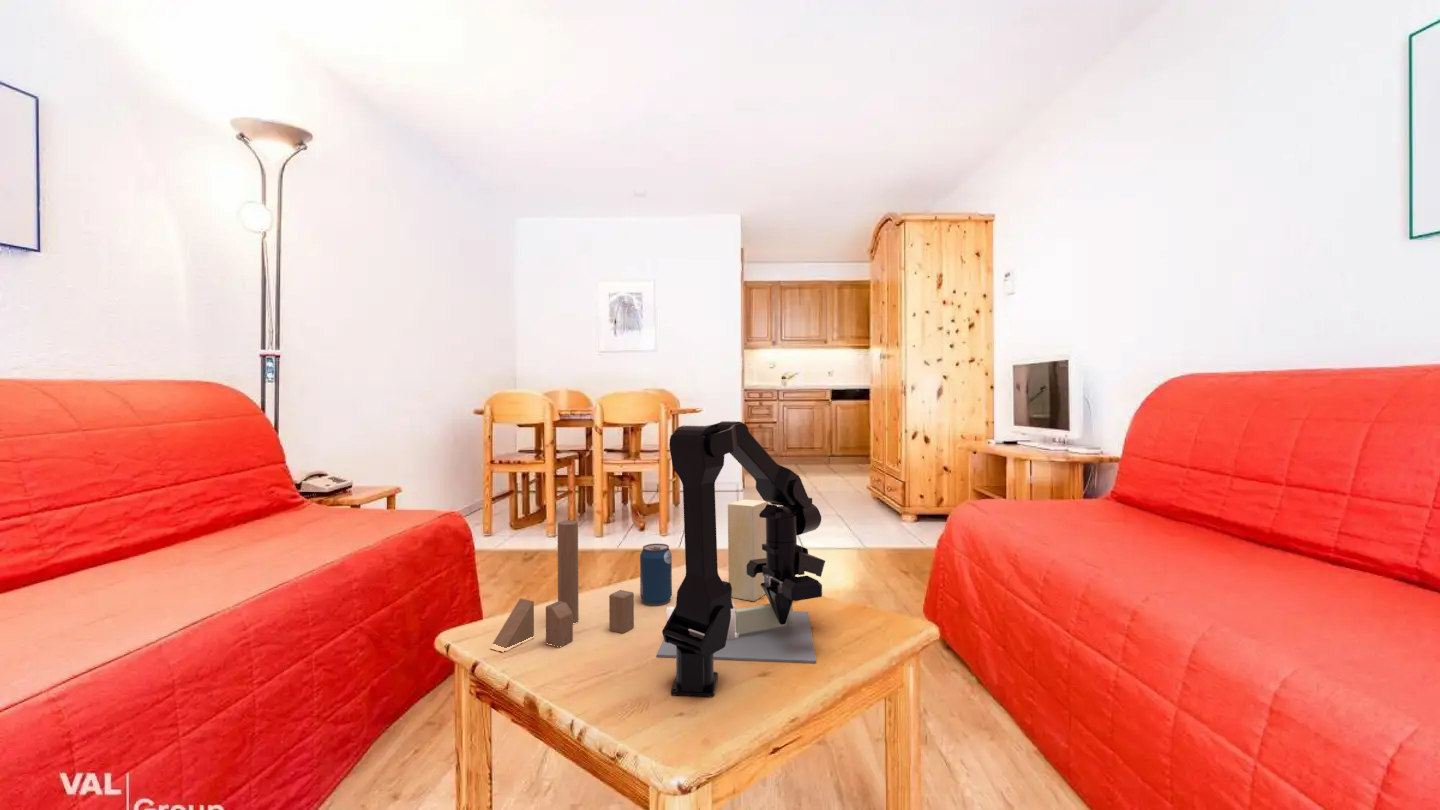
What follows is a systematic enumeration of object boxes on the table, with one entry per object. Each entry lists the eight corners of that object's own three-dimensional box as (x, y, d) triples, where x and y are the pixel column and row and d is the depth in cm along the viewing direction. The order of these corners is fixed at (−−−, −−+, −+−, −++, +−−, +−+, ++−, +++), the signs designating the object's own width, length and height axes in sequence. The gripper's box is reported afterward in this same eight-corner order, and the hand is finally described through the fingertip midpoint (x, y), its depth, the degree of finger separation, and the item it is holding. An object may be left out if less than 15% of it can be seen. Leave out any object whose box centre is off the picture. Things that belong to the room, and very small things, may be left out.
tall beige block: (742, 586, 130) (741, 498, 130) (769, 591, 126) (769, 500, 127) (725, 596, 123) (724, 503, 124) (754, 602, 120) (753, 506, 120)
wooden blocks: (489, 649, 97) (489, 536, 97) (569, 612, 114) (569, 517, 114) (560, 670, 89) (559, 547, 89) (634, 627, 106) (634, 524, 106)
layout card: (816, 663, 91) (815, 624, 91) (656, 657, 93) (656, 619, 94) (808, 613, 113) (807, 582, 113) (679, 609, 115) (678, 579, 115)
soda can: (678, 600, 121) (678, 546, 121) (654, 608, 116) (654, 552, 116) (657, 593, 126) (656, 541, 126) (633, 601, 121) (633, 547, 121)
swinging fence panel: (794, 624, 105) (793, 600, 105) (738, 634, 100) (738, 610, 100) (789, 621, 106) (789, 598, 106) (734, 631, 101) (734, 607, 101)
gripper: (847, 545, 97) (848, 634, 96) (793, 527, 114) (794, 602, 114) (792, 552, 93) (793, 645, 92) (744, 532, 110) (745, 610, 109)
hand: (782, 623), depth 102 cm, fingers closed
